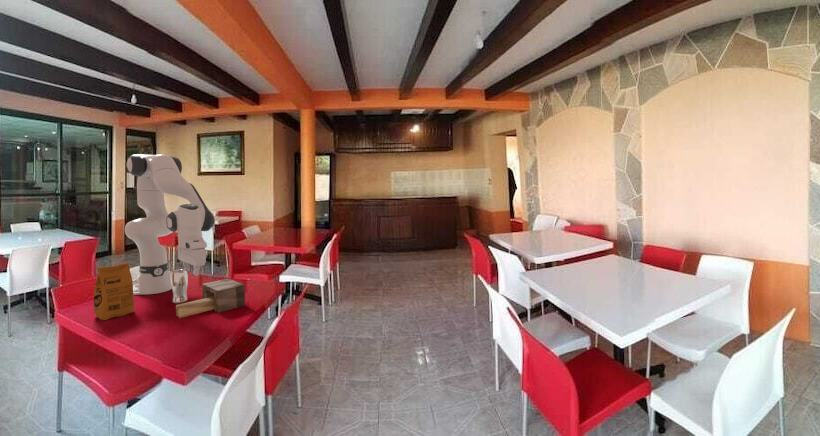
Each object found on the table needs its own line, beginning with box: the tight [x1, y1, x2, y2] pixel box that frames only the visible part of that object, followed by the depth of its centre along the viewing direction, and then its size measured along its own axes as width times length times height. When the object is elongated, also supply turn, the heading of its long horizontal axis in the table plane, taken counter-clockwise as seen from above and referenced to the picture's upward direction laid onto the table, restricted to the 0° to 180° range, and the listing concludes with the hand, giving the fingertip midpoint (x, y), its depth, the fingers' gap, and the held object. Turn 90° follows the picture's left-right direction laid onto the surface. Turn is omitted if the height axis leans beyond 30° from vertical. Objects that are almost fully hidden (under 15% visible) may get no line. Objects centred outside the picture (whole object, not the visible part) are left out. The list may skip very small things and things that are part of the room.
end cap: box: [201, 278, 246, 314], centre depth 161 cm, size 16×12×10 cm
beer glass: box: [170, 268, 189, 304], centre depth 164 cm, size 7×7×15 cm
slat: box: [175, 296, 215, 319], centre depth 153 cm, size 4×18×5 cm, turn 142°
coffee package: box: [93, 262, 135, 321], centre depth 146 cm, size 10×12×22 cm
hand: (191, 273), depth 149 cm, fingers open, 8 cm apart
